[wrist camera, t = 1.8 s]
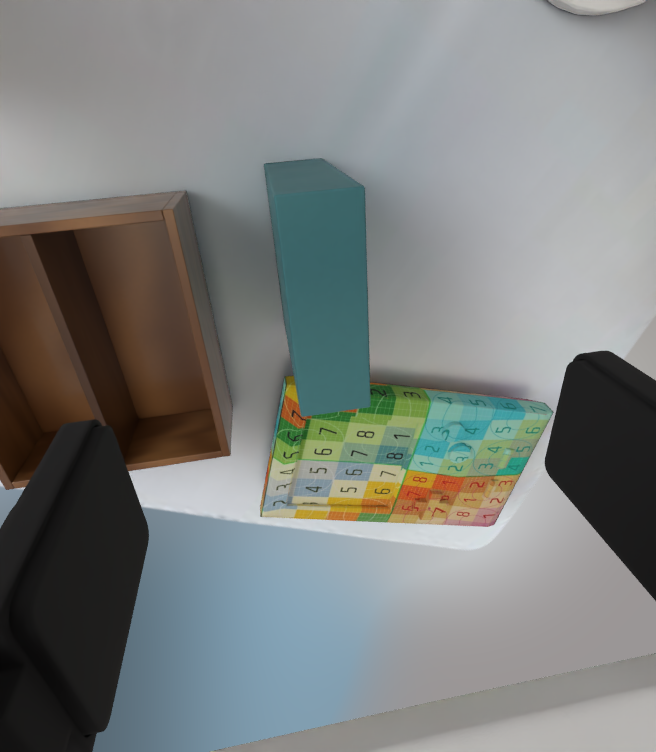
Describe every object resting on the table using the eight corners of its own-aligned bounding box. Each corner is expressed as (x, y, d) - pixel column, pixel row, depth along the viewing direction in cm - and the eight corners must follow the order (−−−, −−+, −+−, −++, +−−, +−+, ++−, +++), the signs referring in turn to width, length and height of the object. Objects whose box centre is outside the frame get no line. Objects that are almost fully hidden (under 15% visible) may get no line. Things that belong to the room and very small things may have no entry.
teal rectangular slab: (322, 158, 26) (365, 185, 17) (333, 318, 31) (371, 408, 22) (263, 163, 26) (273, 195, 17) (284, 325, 31) (301, 418, 22)
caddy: (186, 190, 26) (172, 208, 21) (232, 406, 34) (230, 455, 29) (-67, 214, 25) (-142, 240, 20) (41, 434, 32) (5, 490, 28)
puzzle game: (499, 533, 38) (260, 526, 34) (475, 493, 42) (259, 482, 38) (561, 419, 33) (287, 392, 28) (527, 385, 37) (281, 357, 32)
